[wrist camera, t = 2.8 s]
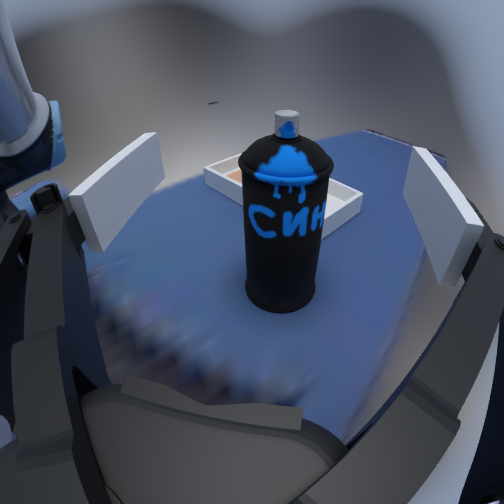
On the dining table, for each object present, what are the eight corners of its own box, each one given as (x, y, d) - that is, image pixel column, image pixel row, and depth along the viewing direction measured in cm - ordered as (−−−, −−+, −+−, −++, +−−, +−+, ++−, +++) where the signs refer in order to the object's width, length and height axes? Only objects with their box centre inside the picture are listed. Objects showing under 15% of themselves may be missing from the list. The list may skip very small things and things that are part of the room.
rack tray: (205, 184, 54) (203, 167, 52) (257, 162, 61) (257, 147, 58) (311, 247, 40) (313, 226, 38) (360, 211, 46) (364, 193, 44)
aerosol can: (243, 263, 38) (234, 103, 25) (307, 259, 38) (322, 103, 25) (247, 316, 32) (235, 129, 19) (321, 310, 32) (353, 129, 19)
